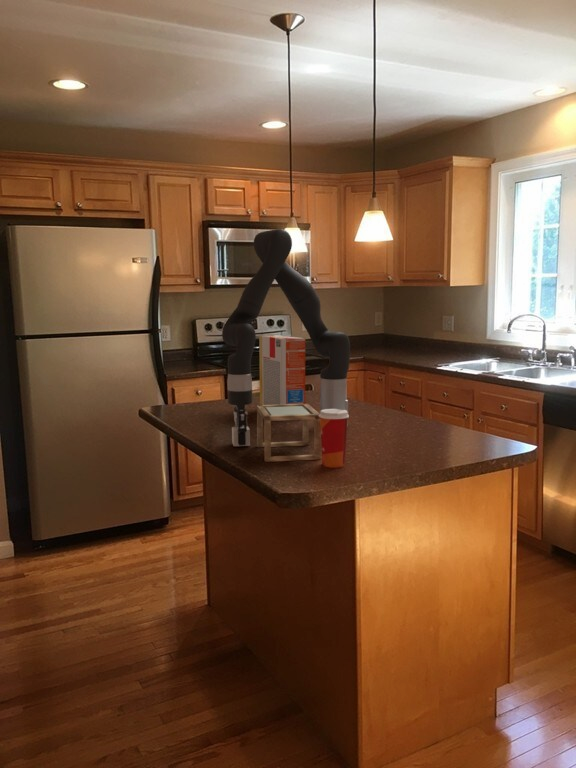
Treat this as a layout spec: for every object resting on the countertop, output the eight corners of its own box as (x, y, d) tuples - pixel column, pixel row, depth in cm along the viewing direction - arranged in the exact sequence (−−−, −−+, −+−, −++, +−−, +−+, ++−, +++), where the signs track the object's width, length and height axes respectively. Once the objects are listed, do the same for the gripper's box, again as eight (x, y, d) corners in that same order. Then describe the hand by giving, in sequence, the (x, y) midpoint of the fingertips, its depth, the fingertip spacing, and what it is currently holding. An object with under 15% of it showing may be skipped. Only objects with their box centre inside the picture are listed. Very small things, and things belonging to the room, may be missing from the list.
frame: (307, 444, 202) (307, 403, 200) (320, 459, 183) (320, 414, 181) (257, 446, 199) (256, 405, 197) (265, 461, 181) (264, 416, 179)
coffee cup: (330, 459, 183) (330, 407, 181) (354, 464, 178) (355, 410, 176) (312, 465, 177) (312, 411, 174) (336, 470, 171) (337, 415, 169)
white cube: (248, 441, 203) (247, 426, 202) (250, 445, 198) (249, 429, 197) (232, 442, 202) (231, 426, 201) (233, 446, 197) (233, 430, 196)
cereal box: (305, 418, 244) (305, 338, 240) (286, 420, 240) (285, 339, 236) (277, 408, 264) (277, 334, 260) (259, 410, 260) (259, 335, 256)
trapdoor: (302, 409, 198) (302, 405, 198) (312, 418, 183) (312, 414, 183) (265, 410, 196) (265, 407, 196) (272, 419, 181) (272, 416, 181)
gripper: (254, 391, 191) (255, 447, 193) (249, 384, 205) (250, 437, 207) (229, 392, 190) (230, 448, 192) (225, 385, 204) (227, 438, 206)
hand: (241, 442), depth 200 cm, fingers closed on white cube, 5 cm apart
